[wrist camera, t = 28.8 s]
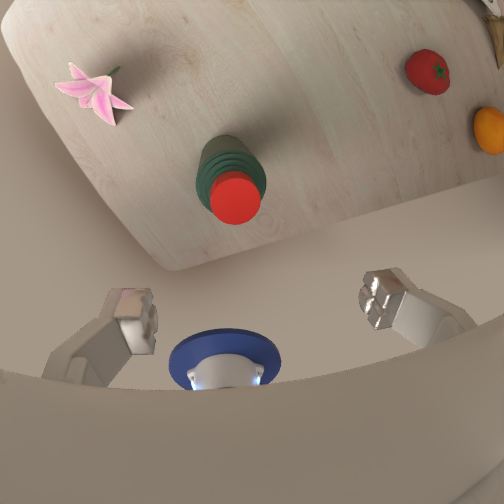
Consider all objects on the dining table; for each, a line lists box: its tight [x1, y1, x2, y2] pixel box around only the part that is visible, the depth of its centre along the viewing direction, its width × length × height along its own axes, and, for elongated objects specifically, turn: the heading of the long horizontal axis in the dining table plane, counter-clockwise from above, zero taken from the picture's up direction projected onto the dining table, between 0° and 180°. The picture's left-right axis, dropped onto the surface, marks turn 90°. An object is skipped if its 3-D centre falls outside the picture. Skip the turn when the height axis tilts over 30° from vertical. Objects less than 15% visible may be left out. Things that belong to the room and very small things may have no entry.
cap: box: [210, 171, 260, 225], centre depth 22 cm, size 4×4×2 cm
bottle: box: [196, 135, 266, 213], centre depth 29 cm, size 7×7×18 cm
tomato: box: [405, 49, 450, 95], centre depth 29 cm, size 8×8×7 cm
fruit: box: [473, 107, 504, 155], centre depth 34 cm, size 10×10×8 cm
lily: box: [53, 61, 134, 126], centre depth 26 cm, size 12×12×10 cm
